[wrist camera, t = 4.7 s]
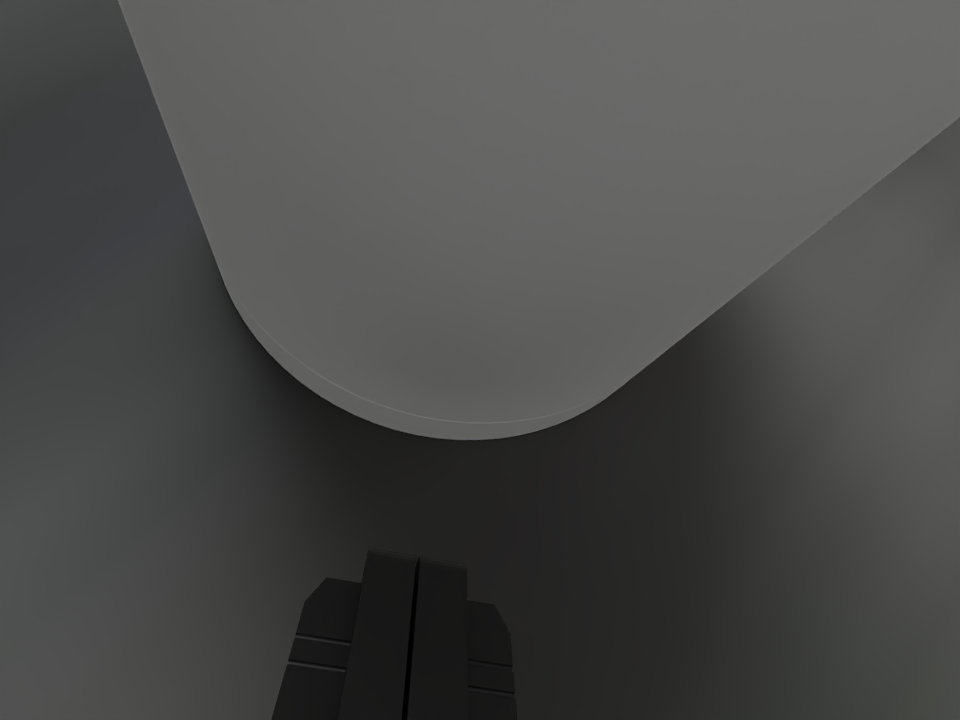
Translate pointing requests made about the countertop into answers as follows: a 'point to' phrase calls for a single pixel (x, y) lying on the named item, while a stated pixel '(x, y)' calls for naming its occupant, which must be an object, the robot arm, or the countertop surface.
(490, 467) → the countertop surface
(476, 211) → the cylinder
